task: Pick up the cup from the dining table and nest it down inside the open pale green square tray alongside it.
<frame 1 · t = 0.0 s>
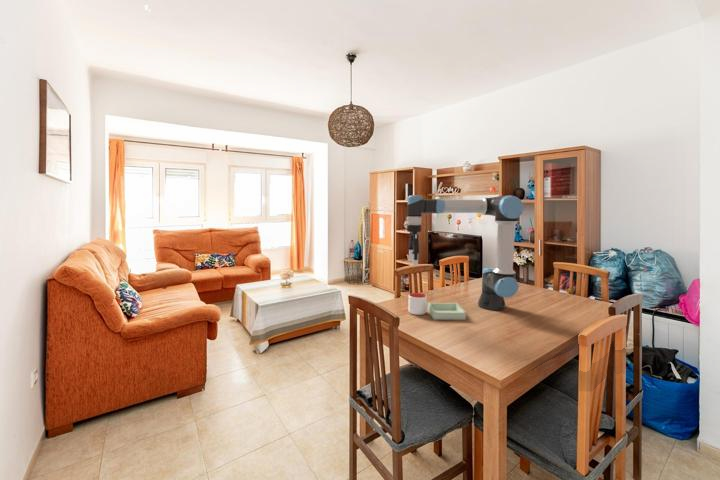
hand: (413, 263, 177), 28 cm above the table, fingers open, 13 cm apart
cup: (417, 313, 182), on the table
pale green square tray: (445, 314, 179), on the table
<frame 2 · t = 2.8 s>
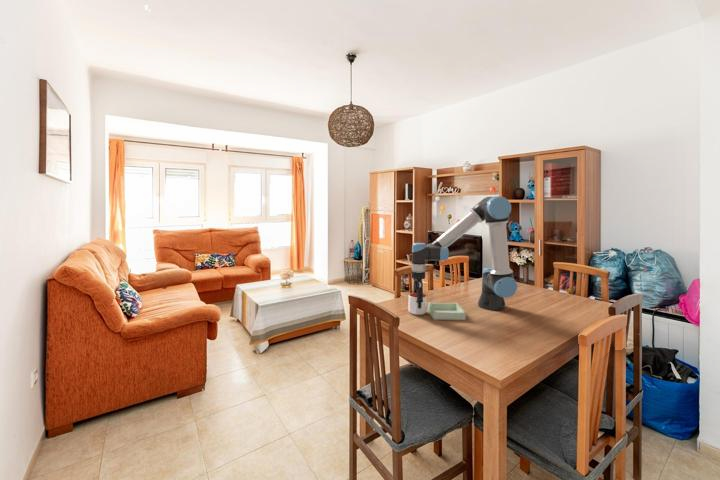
hand: (417, 310, 182), 1 cm above the table, fingers closed on cup, 10 cm apart
cup: (417, 313, 182), on the table, touching gripper
when the fingers open (4 cm above the table, at t = 8.3 s): cup drops 2 cm, resting on pale green square tray.
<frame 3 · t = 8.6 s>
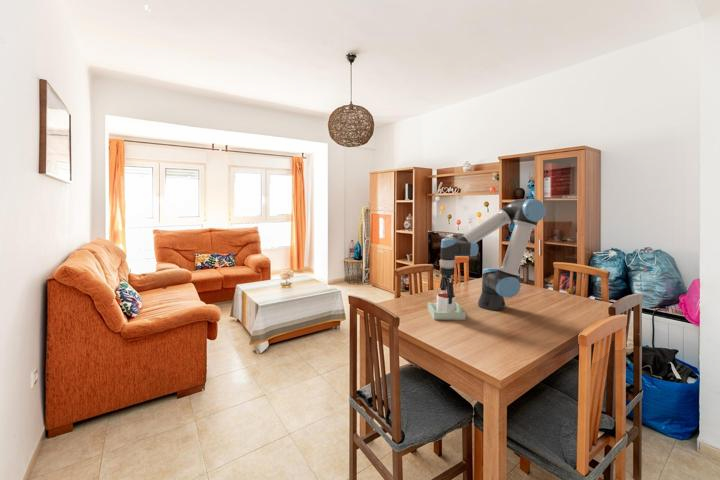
hand: (445, 305, 178), 5 cm above the table, fingers open, 13 cm apart
cup: (445, 313, 179), resting on pale green square tray
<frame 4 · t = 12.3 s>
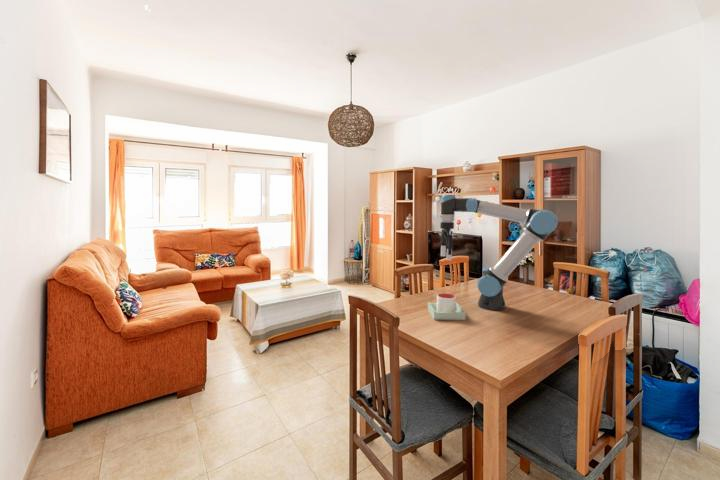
hand: (445, 258, 190), 29 cm above the table, fingers open, 13 cm apart
nothing on the table moved.
at the end: cup inside the target area on the pale green square tray (0.0 cm from its centre), point 0.4 cm above the pale green square tray's base; cup tilted 0°; the gripper is holding nothing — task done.
